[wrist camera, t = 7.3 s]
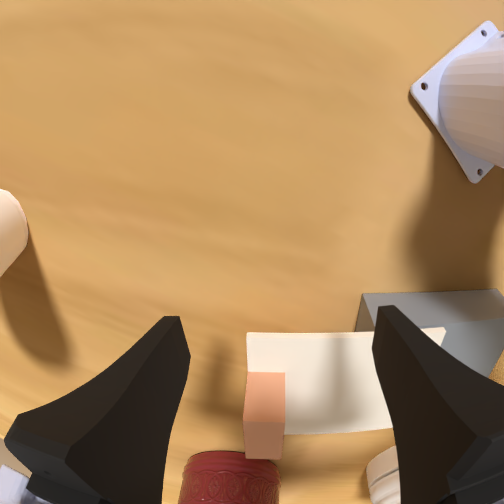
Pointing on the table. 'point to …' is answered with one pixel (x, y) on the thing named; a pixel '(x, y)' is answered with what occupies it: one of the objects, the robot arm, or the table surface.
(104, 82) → the table surface
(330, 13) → the table surface
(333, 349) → the carton lid
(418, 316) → the carton
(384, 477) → the honey pot
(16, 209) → the foam cup
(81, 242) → the table surface
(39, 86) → the table surface
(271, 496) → the canister
